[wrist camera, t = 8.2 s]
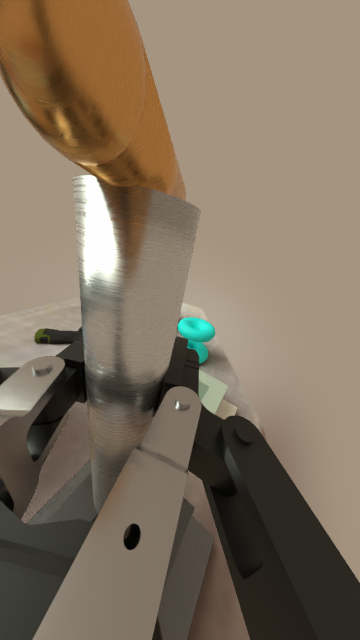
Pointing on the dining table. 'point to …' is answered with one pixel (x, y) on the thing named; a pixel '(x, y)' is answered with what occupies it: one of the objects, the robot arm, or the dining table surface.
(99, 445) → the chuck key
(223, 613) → the dining table surface
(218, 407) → the pale green socket base
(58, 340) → the gun
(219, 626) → the dining table surface
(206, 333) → the donuts
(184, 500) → the block
